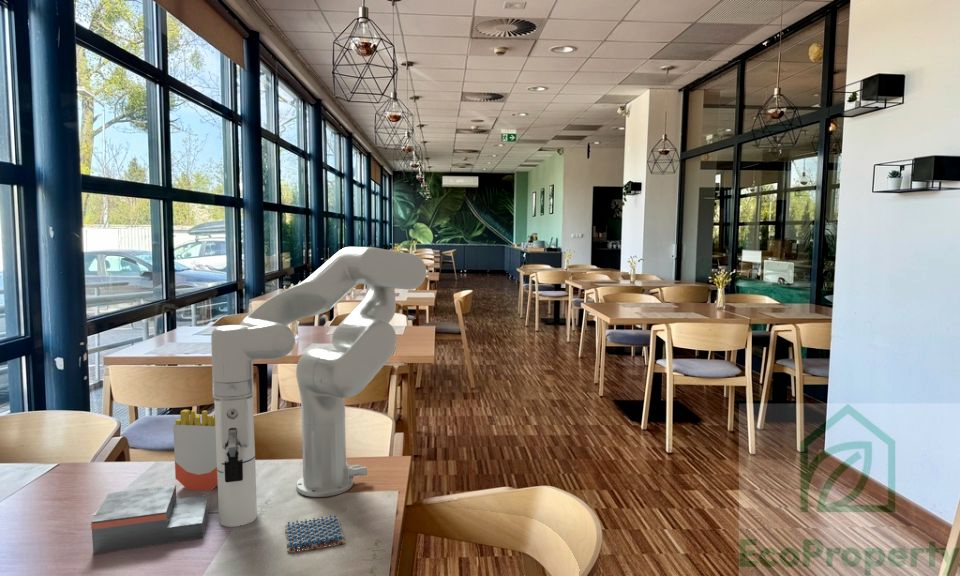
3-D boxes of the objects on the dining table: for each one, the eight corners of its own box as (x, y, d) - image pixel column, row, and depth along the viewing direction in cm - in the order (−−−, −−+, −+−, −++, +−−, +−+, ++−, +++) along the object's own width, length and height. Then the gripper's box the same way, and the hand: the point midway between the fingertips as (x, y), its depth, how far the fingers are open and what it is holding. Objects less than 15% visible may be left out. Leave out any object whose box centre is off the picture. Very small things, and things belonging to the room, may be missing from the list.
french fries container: (187, 481, 143) (184, 405, 141) (232, 482, 142) (229, 406, 140) (175, 489, 139) (172, 410, 137) (222, 491, 138) (219, 412, 136)
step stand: (208, 508, 129) (207, 481, 128) (202, 538, 116) (201, 508, 116) (110, 521, 123) (108, 492, 122) (92, 554, 110) (90, 522, 110)
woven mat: (338, 522, 124) (338, 512, 124) (346, 547, 114) (345, 536, 114) (284, 530, 121) (284, 520, 120) (287, 557, 111) (286, 546, 110)
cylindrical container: (244, 528, 120) (239, 403, 118) (211, 524, 122) (206, 400, 119) (263, 512, 127) (260, 393, 125) (232, 508, 129) (228, 391, 126)
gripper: (252, 397, 115) (254, 486, 117) (254, 377, 131) (255, 455, 133) (208, 400, 113) (211, 491, 114) (216, 379, 129) (218, 459, 130)
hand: (235, 471), depth 123 cm, fingers open, 9 cm apart
